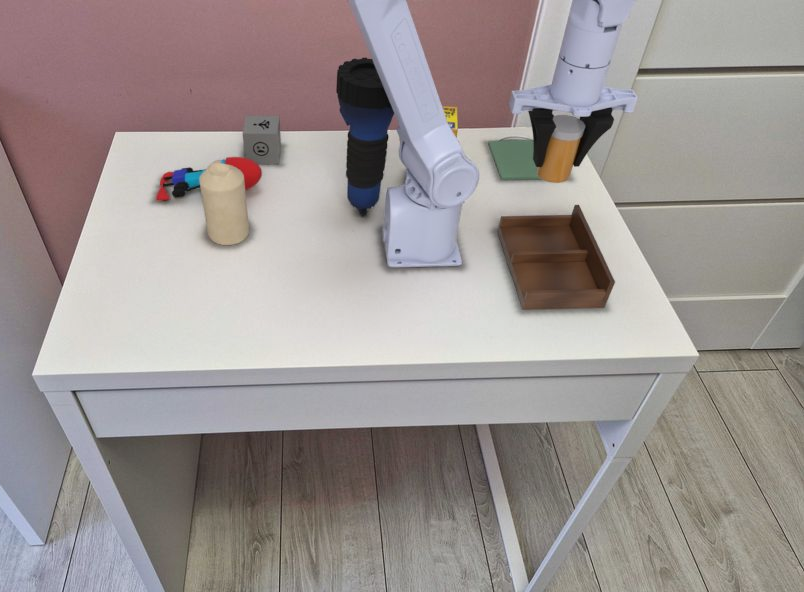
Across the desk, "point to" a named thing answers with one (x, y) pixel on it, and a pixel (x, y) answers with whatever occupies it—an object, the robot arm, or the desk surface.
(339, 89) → the flashlight
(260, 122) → the dice cube
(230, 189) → the candle
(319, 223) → the desk surface
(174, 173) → the toy figure
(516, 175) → the green mat
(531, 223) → the tray
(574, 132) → the disc
